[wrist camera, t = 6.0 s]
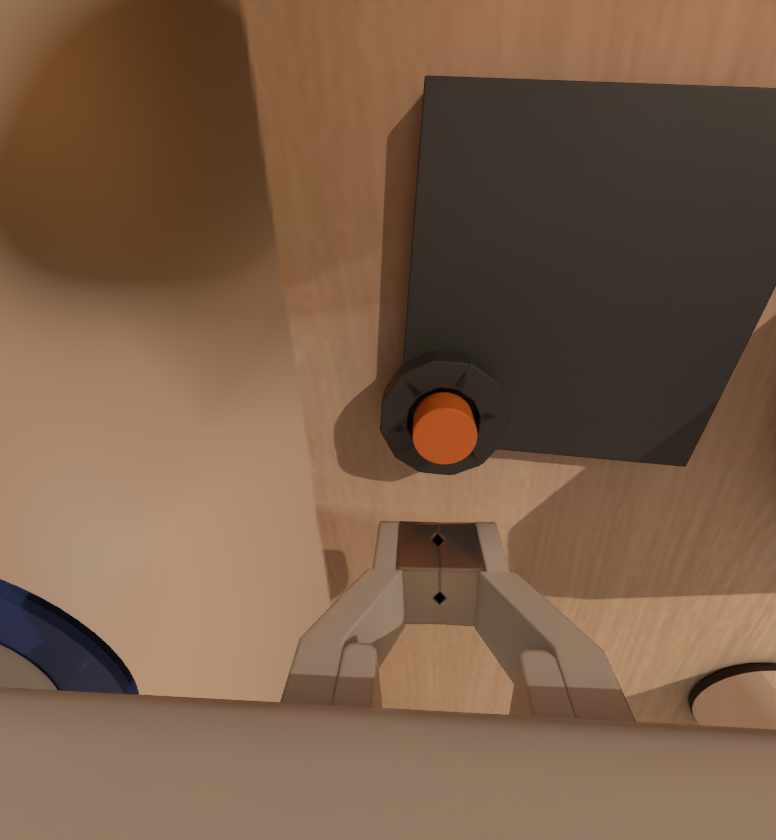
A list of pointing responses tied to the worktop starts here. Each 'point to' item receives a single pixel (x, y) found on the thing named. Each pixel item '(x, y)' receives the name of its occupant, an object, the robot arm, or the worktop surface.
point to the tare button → (444, 428)
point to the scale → (584, 263)
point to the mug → (737, 697)
